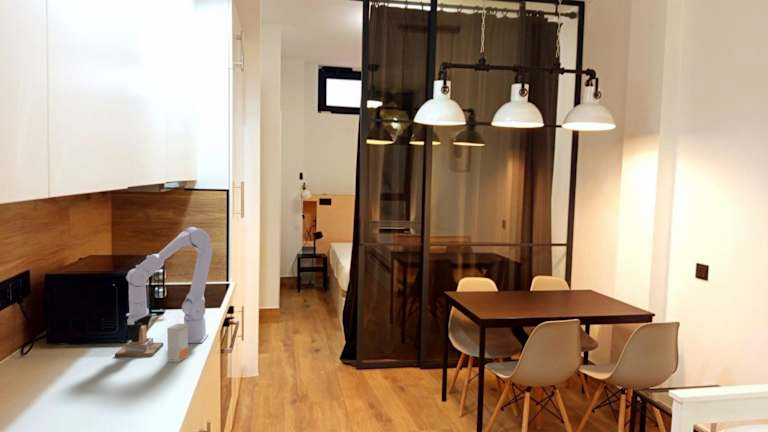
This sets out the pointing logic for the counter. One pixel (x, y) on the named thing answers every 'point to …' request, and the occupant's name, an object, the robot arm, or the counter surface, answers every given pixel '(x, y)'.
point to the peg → (142, 335)
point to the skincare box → (177, 342)
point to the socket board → (139, 349)
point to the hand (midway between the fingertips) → (139, 338)
